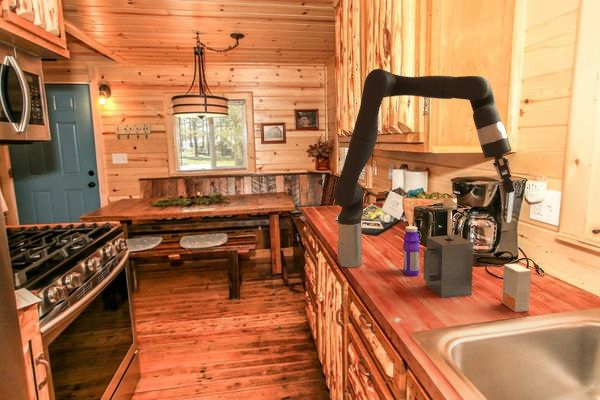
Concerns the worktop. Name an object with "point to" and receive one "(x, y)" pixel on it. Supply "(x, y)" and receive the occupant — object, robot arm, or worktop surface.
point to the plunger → (449, 213)
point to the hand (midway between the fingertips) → (509, 191)
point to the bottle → (411, 251)
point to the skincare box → (516, 287)
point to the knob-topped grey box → (448, 266)
